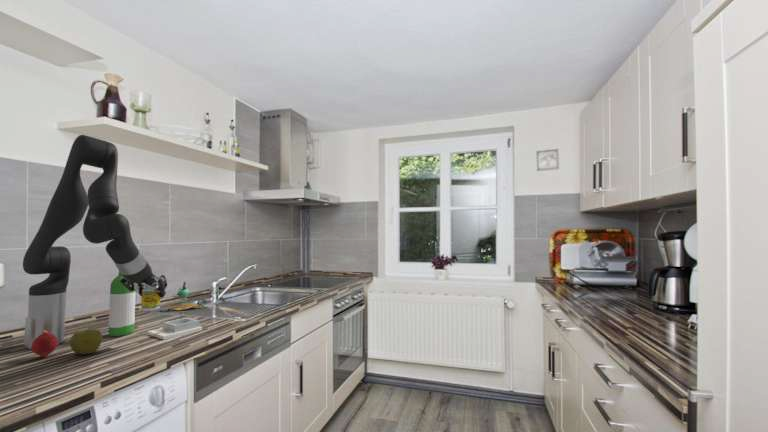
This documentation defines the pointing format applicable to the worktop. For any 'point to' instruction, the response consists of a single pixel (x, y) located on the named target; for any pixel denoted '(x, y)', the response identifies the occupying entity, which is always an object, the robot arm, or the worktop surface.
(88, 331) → the apple
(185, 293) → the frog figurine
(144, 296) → the supplement bottle
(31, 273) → the robot arm
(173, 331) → the end holder
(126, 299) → the wine bottle
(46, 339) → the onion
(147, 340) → the worktop surface
